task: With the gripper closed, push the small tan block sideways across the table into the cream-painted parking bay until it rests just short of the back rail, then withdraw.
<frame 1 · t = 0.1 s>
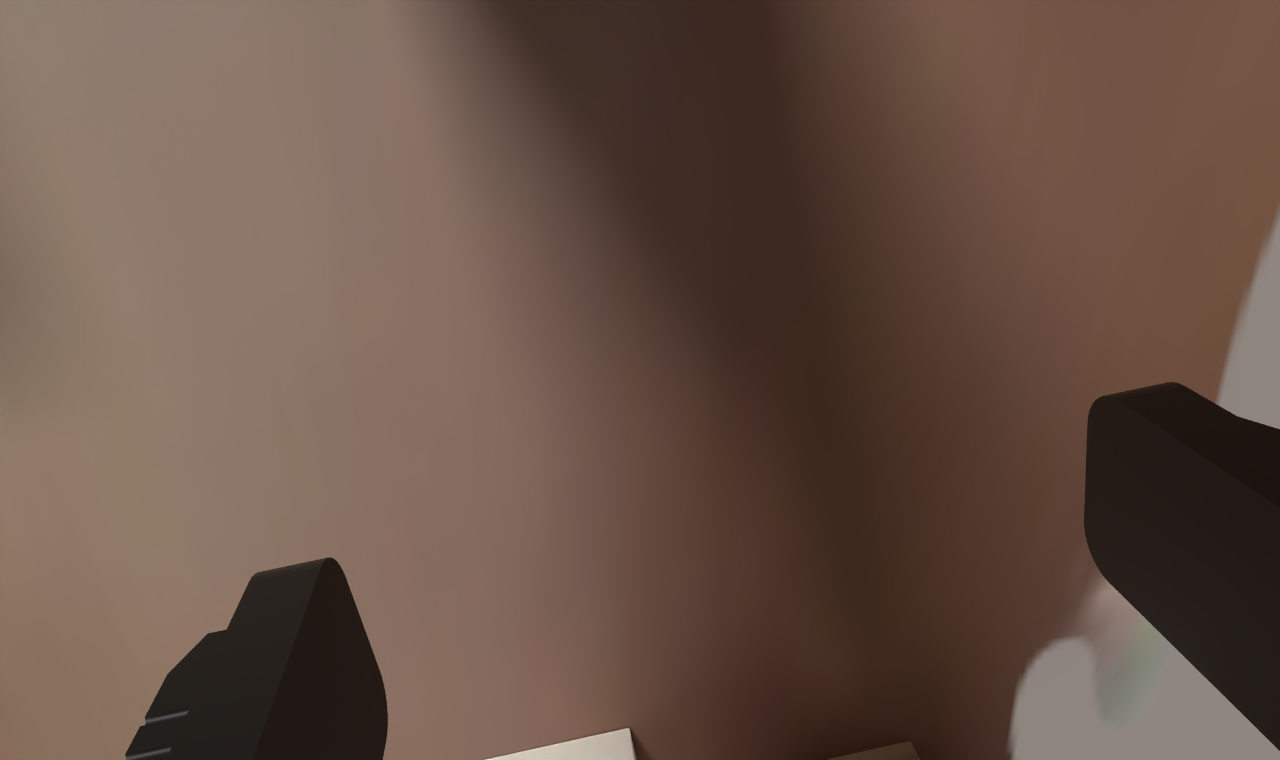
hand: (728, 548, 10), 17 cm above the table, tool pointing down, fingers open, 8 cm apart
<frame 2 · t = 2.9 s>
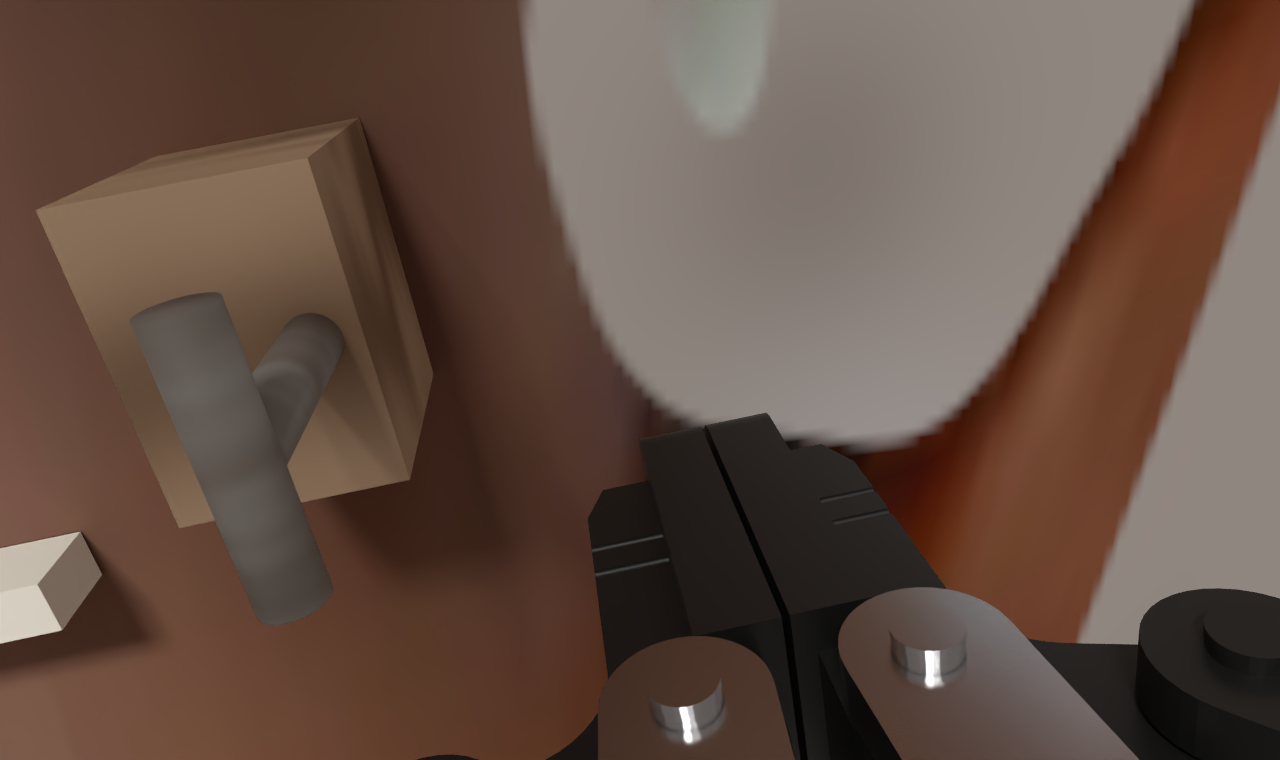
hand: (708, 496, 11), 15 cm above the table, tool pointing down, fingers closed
tan block: (303, 271, 24), on the table
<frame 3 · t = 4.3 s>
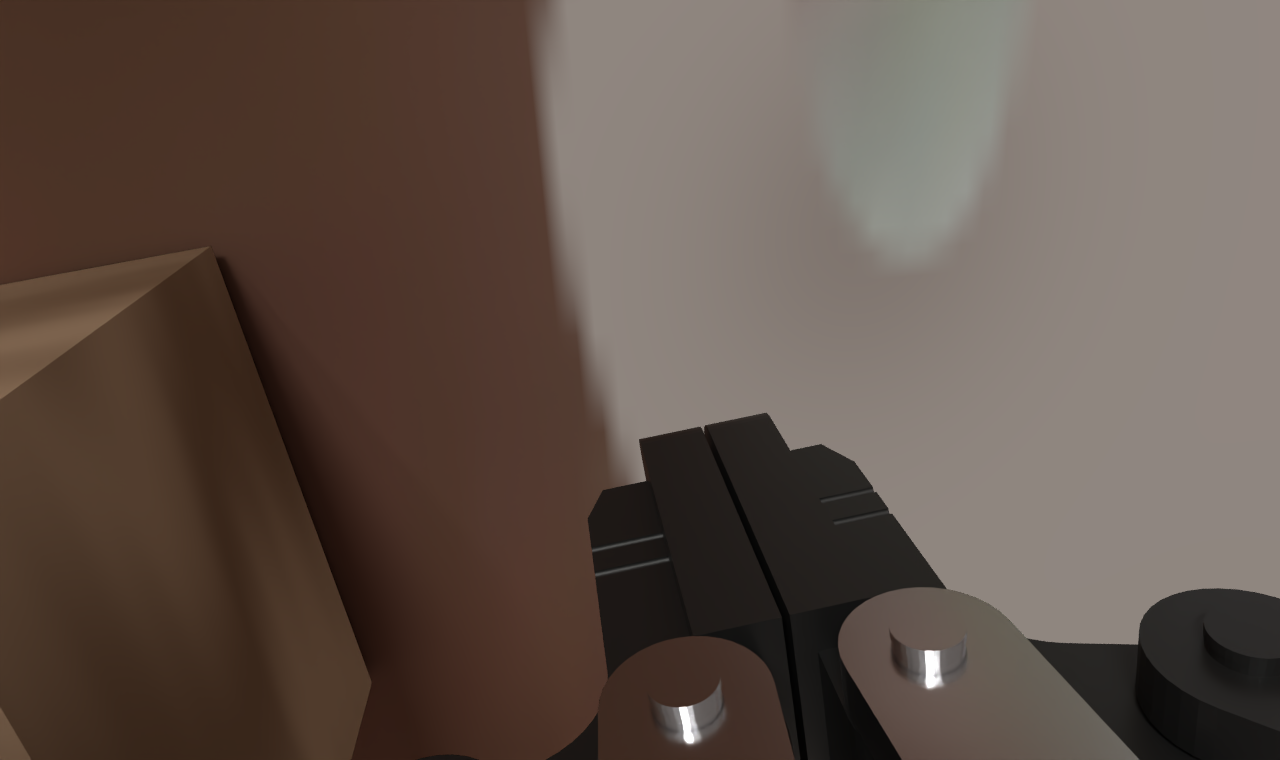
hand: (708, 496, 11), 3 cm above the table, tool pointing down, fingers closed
tan block: (121, 522, 12), on the table, touching hand
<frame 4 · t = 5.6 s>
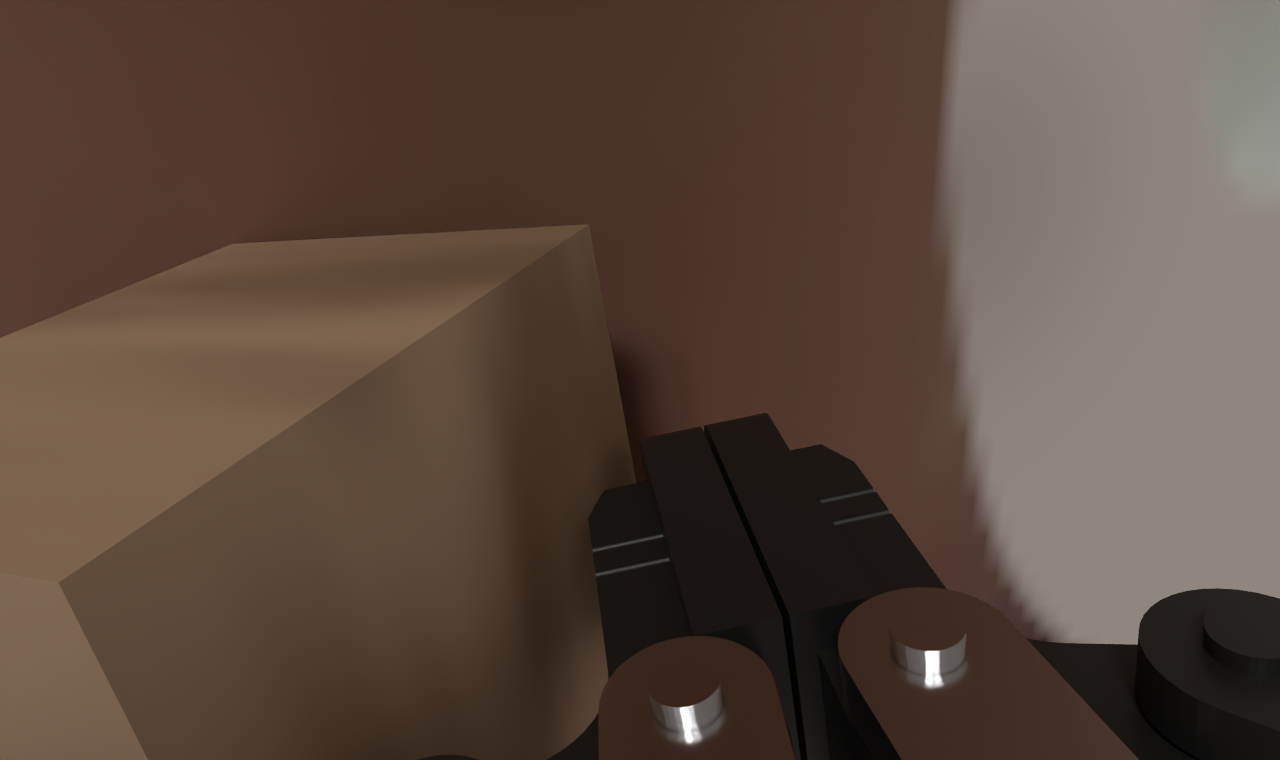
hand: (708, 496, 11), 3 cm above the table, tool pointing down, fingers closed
tan block: (464, 497, 12), point 1 cm above the table, tilted 29°, touching gripper
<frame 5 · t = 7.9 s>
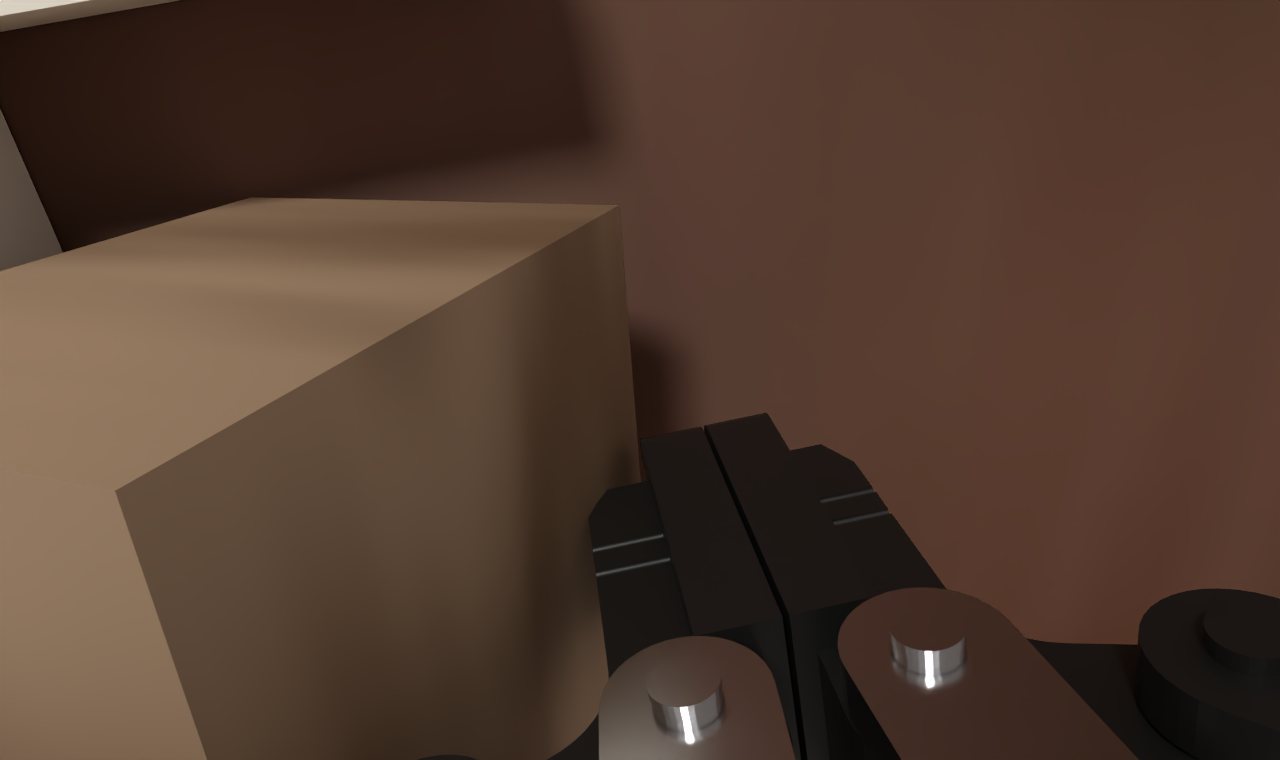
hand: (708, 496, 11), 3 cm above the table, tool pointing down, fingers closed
tan block: (463, 470, 12), point 1 cm above the table, tilted 30°, touching gripper, hand, parking bay
parking bay: (347, 455, 13), on the table
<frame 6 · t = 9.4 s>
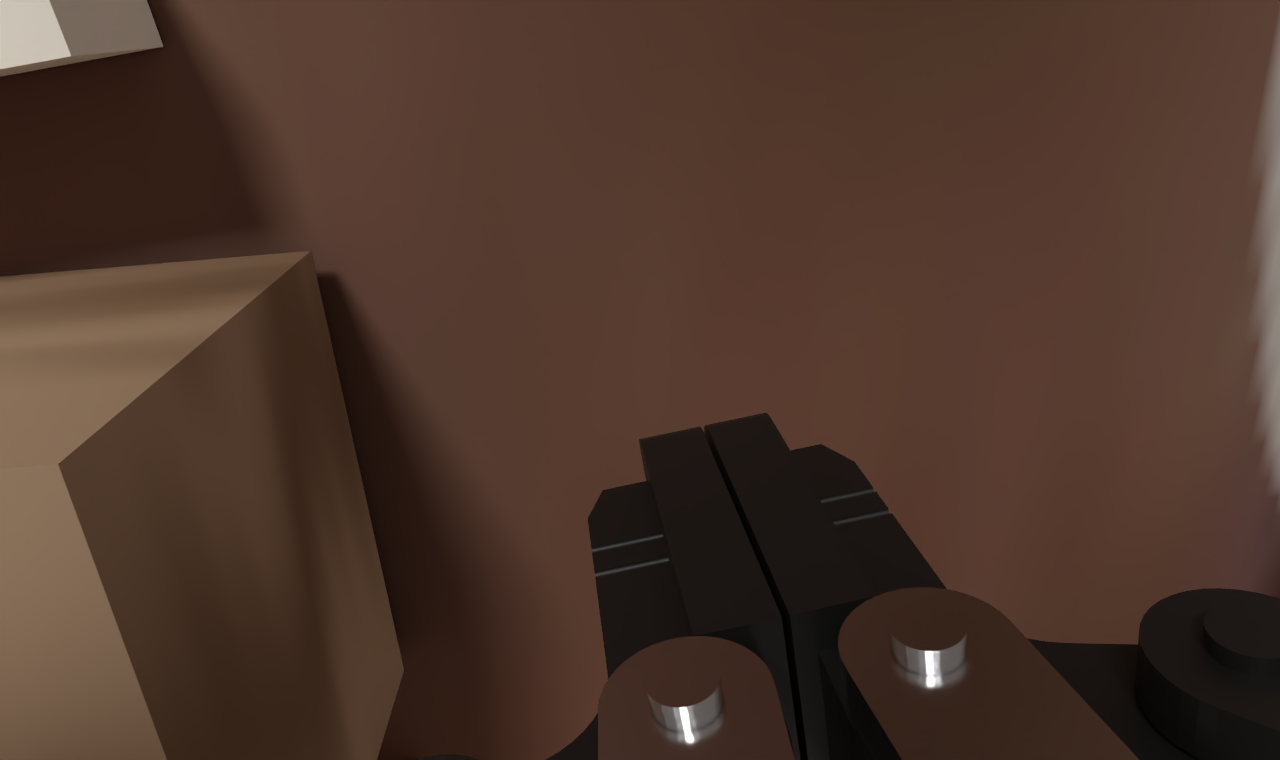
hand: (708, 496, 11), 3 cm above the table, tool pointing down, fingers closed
tan block: (193, 495, 13), on the table
parking bay: (61, 518, 13), on the table
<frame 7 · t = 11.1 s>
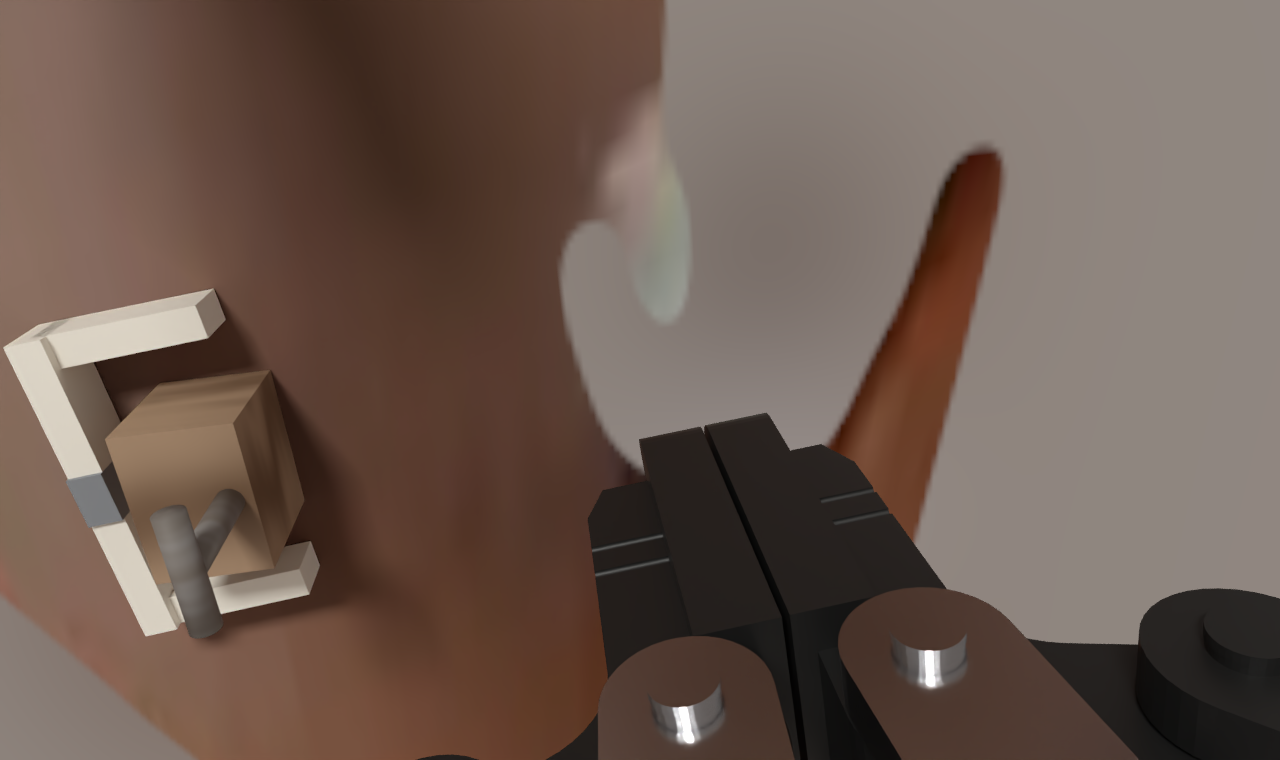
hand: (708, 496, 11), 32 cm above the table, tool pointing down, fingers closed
tan block: (235, 443, 43), on the table
parking bay: (192, 453, 43), on the table
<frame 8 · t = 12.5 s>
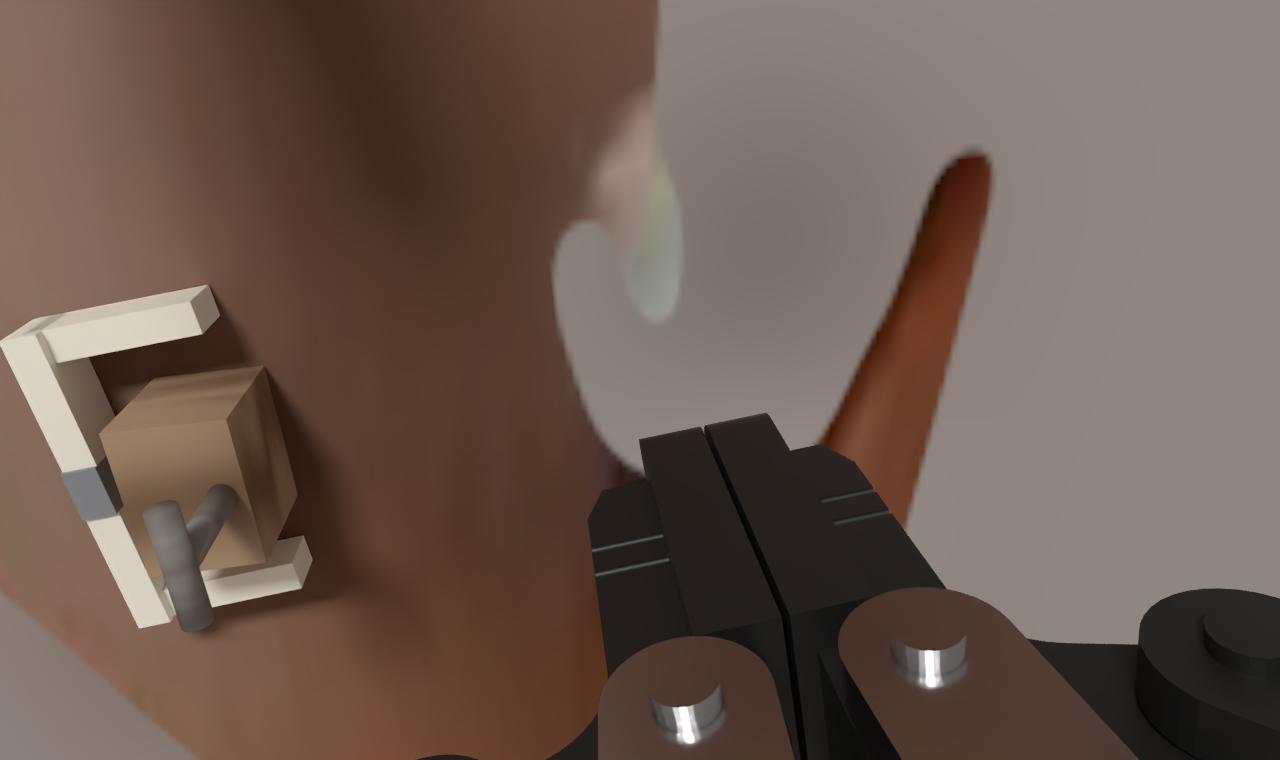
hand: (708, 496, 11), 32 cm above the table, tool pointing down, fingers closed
tan block: (228, 437, 44), on the table
parking bay: (186, 447, 43), on the table
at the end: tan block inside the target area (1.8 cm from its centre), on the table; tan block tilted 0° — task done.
